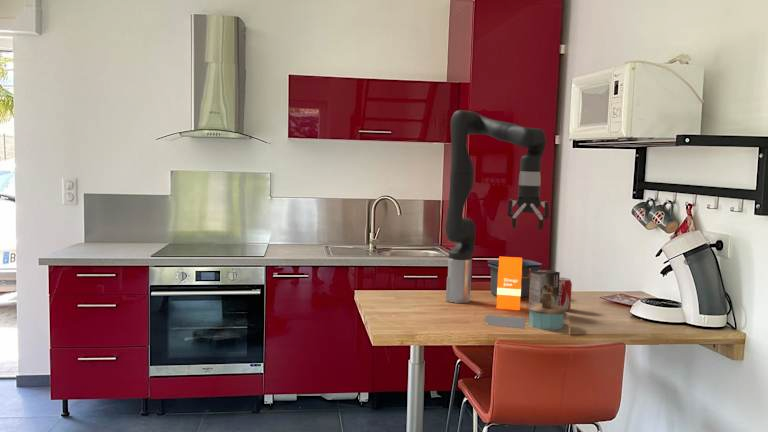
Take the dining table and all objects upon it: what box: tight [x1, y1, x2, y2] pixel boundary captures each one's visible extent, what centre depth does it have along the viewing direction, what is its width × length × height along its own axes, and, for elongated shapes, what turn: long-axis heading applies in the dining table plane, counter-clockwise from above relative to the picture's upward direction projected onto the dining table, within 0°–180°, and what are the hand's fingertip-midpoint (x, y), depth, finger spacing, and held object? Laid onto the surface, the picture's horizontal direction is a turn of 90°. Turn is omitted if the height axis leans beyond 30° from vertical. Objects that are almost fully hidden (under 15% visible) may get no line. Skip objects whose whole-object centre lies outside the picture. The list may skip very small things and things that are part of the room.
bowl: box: [528, 311, 564, 331], centre depth 219 cm, size 11×11×6 cm
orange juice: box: [495, 256, 523, 311], centre depth 244 cm, size 8×9×20 cm
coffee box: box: [528, 269, 561, 312], centre depth 237 cm, size 9×6×16 cm
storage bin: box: [487, 259, 543, 298], centre depth 267 cm, size 21×16×14 cm
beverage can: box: [558, 277, 573, 312], centre depth 245 cm, size 6×6×12 cm
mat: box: [483, 314, 526, 329], centre depth 223 cm, size 14×14×1 cm
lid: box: [526, 292, 567, 315], centre depth 218 cm, size 13×13×6 cm
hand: (527, 229), depth 229 cm, fingers open, 8 cm apart
